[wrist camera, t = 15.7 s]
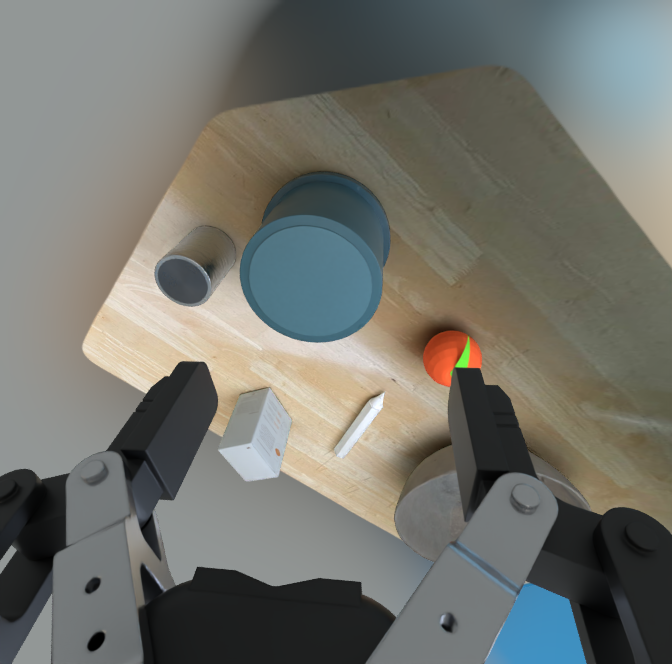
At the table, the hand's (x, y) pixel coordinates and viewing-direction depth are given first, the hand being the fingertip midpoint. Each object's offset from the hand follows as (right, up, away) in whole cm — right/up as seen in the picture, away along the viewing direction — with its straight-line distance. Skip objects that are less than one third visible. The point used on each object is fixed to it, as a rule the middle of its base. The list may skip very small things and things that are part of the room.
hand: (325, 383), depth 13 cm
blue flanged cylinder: (-1, +12, +31) cm, 33 cm away
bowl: (+24, -22, +53) cm, 62 cm away
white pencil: (+4, -12, +48) cm, 50 cm away
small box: (-11, -10, +49) cm, 51 cm away
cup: (-15, +11, +34) cm, 38 cm away
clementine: (+15, +1, +37) cm, 40 cm away
